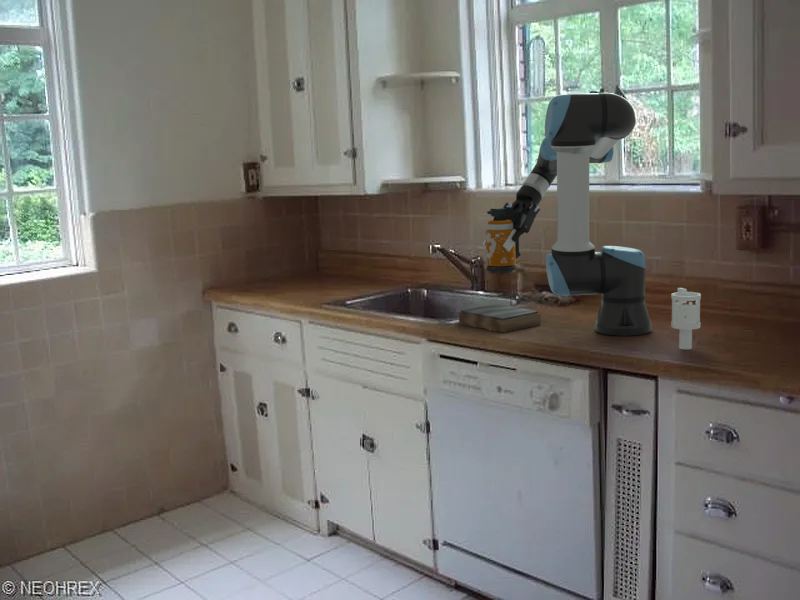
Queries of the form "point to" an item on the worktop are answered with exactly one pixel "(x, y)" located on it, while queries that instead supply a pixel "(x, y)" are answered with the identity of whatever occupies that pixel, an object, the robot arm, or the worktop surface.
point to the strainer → (685, 315)
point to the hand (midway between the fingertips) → (495, 247)
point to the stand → (500, 317)
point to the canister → (501, 240)
